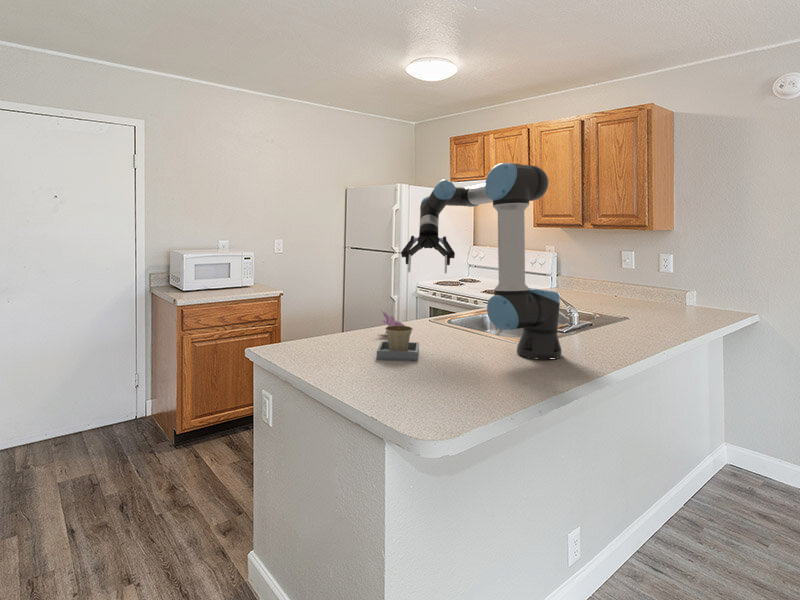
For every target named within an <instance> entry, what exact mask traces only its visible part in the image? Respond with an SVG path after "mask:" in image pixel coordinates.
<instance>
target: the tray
mask: <svg viewBox="0 0 800 600" xmlns="http://www.w3.org/2000/svg"><path fill="white" fill-rule="evenodd" d="M419 352H420V342H413V341H411V342H410V341H409V345H408V351H389V343H388V340H387V341H385V340H384V341H382V340H381V341H380V343H379V344H378V347H377V349H376V360H378V361H402V362H403V361H404V362H406V361H407V362H418V360H419V359H418V358H419Z"/></svg>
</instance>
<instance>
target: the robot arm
mask: <svg viewBox="0 0 800 600" xmlns="http://www.w3.org/2000/svg"><path fill="white" fill-rule="evenodd" d="M548 187H549V178H548V175H547V173H546V172H545V171H544V170H543V169H542V168H541V167H539V166H536V165H528V164H527V165H526V164H520V163H513V162H507V163H506V162H504V163H503V162H501V163H497V164H496V165H494V166H493V167H492V168H491V169H490V171H489V172H488V174H487V176H486V179H485V183H479V184H476V185H472V186H455V184H454V183H453V182H452V181H449V180H447V179H442V180H440V181H439V182H438V183H437V184H436V185H435V186H434V188H433V190H432V192H431V193H430V194H429V196H426V197H424V198H423V199H422V200H421V203H420V206H419V207H420V208H419V211H420V212H419V215H420V216H419V232H418V233H419V234H418V237H415V235H411V236H410V239H409V241H407V244H406V245H405V246H404V248H402V250H401V252H400V253H401V258H405V265H407V272H408V273H411V267H412V265H411V264H412V257H413V256H414V254H416V253H417V252H418V251H420V250H422V249H434V250H435V251H437V252H439V253H440V254H441V255H442V257H444V274H447V273H448V272H447V271H448V266H450V265H451V259H455V256H456V253H455V251H454V249H453V248H452V246H451V244H450V243H449V242H448V240H447V236H446V235H445V236H442V237H439V217H440V214H441V213H442V211H443V210H444V209H445V207H446V206H451V207H453V206H454V207H455V206H456V207H458V206H459V207H477V206H479V205H484V204H491V203H492V208H493V209H494V210H496V213H497V246H498V247H497V248H498V249H497V250H498V251H497V253H498V254H497V255H498V257H497V258H498V260H497V261H498V263H497V264H498V265H497V267H498V284H497V286H495V288H494V289H493V296H491V297H490V298H489V299H488V300H489V301H487V305H486V312H487V313H486V314H487V316H488V319H489V321H490V323H492V325H493V326H494V328H496V329H499V330H501V331H513V330H518V329H522V334H521V336H520V339H519V341H518V343H517V346H516V353H518V354H519V355H518V354H517V355H518V356H520V355H521V356H520V357H522V356H524V357H523V358H526V357H529V358H528V359H531V358H538V359H550V358H557V357H560V356H561V357H562V346H561V342H560V339H559V335H558V331H559V329H558V328H559V317H560V316H559V315H560V305H561V303H560V294H559V293H558V292H556V291H553V290H547V289H539V288H531V287H529V286H528V285H527V284H526V259H525V258H526V255H525V254H526V250H525V249H526V248H525V247H526V241H525V240H526V238H525V235H526V234H525V232H526V229H525V228H526V227H525V211H526V209H527V208H528V207H529V205H530V202H534V201H537V200H540V199H541V198H542V197H544V195H546V193H547V190H548ZM416 243H417V244H416ZM440 243H441V244H442V245H443V246H442V245H441V244H440ZM561 357H560V358H561ZM538 359H537V360H538Z"/></svg>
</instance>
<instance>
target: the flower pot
mask: <svg viewBox="0 0 800 600" xmlns="http://www.w3.org/2000/svg"><path fill="white" fill-rule="evenodd" d="M413 329H414V328H413V327H411V326H408V325H405V326H401V325H395V326H388V325H387V326H386V327H385V328H384V330H385V333H386V332H387V333H386V335H387V342H388V343H389V351H408V345H409V342H410V338H411V334H412V331H413Z"/></svg>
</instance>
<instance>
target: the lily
mask: <svg viewBox="0 0 800 600" xmlns="http://www.w3.org/2000/svg"><path fill="white" fill-rule="evenodd" d="M380 312H381V314H382V315H383V317H384V319H383V320H381V323H382V324H384V325H387V327H388V326H395V325H401V326H406V325H405V324H404V323H402V322H401V321H398V320H396V318H395V317H394V315H393V314H392V315H389V314H388V313H386V312H385V311H383V310H381V311H380ZM386 335H387V332H386V331H385V333H384V336H383V338H384V337H386Z"/></svg>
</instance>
